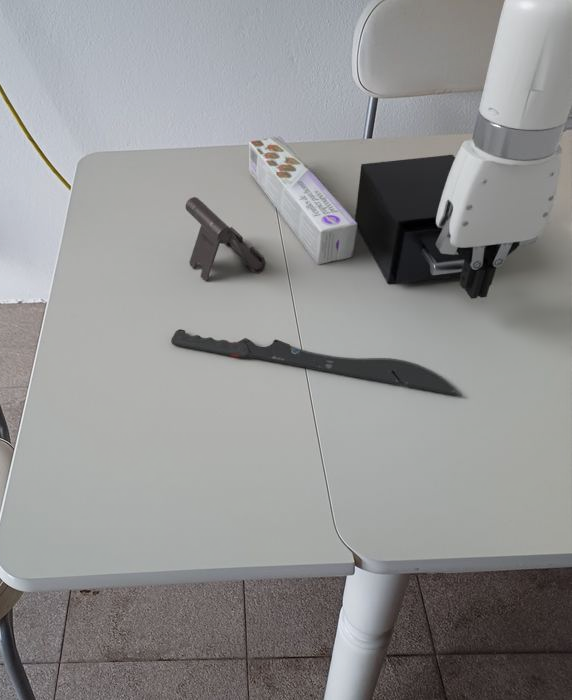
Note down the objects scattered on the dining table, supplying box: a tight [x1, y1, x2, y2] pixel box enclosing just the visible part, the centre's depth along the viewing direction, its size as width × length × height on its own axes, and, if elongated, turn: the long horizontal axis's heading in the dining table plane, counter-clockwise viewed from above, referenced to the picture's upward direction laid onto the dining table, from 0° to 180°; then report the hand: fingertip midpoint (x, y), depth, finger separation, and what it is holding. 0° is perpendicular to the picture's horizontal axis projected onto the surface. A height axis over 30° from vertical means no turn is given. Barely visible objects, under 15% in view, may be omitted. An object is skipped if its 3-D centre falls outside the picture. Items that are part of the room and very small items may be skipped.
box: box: [248, 135, 358, 265], centre depth 93 cm, size 27×5×6 cm, turn 18°
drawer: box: [394, 224, 464, 284], centre depth 81 cm, size 18×11×7 cm, turn 8°
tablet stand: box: [185, 196, 266, 282], centre depth 83 cm, size 9×8×8 cm
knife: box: [170, 328, 462, 396], centre depth 71 cm, size 32×4×1 cm, turn 72°
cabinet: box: [354, 154, 456, 285], centre depth 84 cm, size 15×13×9 cm
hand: (472, 290), depth 72 cm, fingers closed
